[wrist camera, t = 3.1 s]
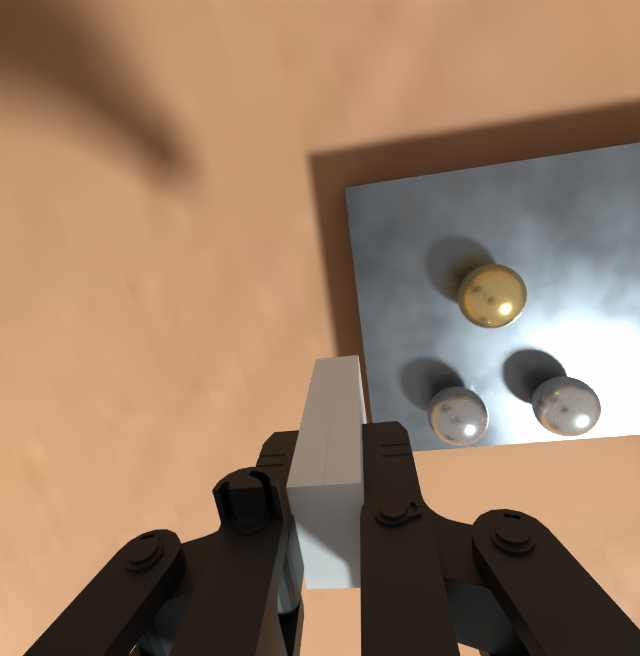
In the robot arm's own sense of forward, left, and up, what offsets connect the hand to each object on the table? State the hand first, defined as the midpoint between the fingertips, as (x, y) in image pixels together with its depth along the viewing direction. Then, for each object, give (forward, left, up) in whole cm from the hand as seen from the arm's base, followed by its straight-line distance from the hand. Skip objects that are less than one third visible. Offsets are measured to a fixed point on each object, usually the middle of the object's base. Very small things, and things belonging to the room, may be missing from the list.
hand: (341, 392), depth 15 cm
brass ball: (0, +8, -9) cm, 12 cm away
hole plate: (+2, +13, -13) cm, 18 cm away
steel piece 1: (+7, +6, -9) cm, 12 cm away
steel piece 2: (+7, +12, -9) cm, 16 cm away
